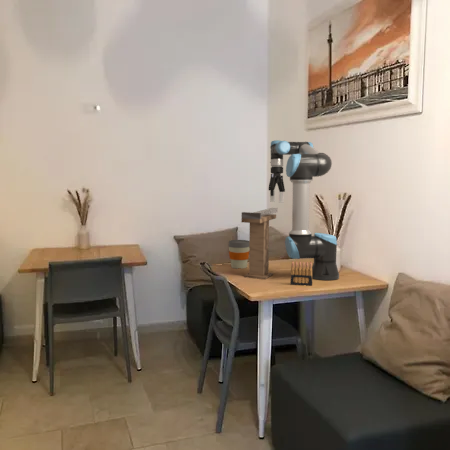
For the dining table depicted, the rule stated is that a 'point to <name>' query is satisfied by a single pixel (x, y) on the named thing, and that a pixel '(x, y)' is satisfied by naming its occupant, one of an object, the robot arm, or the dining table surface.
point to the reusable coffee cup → (239, 253)
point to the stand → (258, 244)
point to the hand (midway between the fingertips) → (276, 202)
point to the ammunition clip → (305, 275)
